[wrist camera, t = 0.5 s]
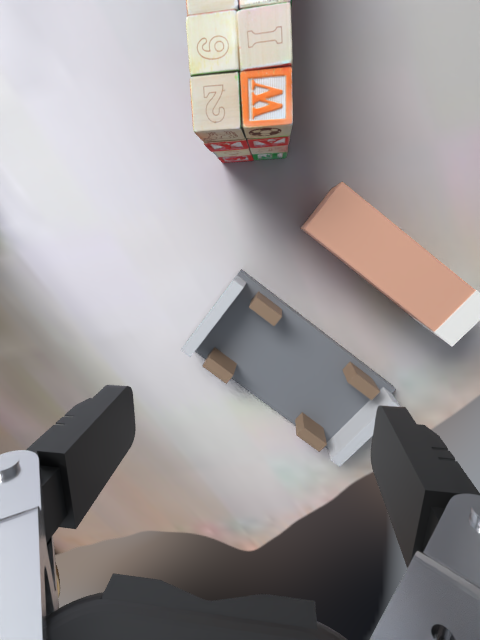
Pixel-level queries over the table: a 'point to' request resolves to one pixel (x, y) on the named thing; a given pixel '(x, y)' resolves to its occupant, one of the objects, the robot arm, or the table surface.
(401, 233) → the peach lotion tube
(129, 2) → the table surface
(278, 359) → the cradle jig
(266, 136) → the stack of blocks
